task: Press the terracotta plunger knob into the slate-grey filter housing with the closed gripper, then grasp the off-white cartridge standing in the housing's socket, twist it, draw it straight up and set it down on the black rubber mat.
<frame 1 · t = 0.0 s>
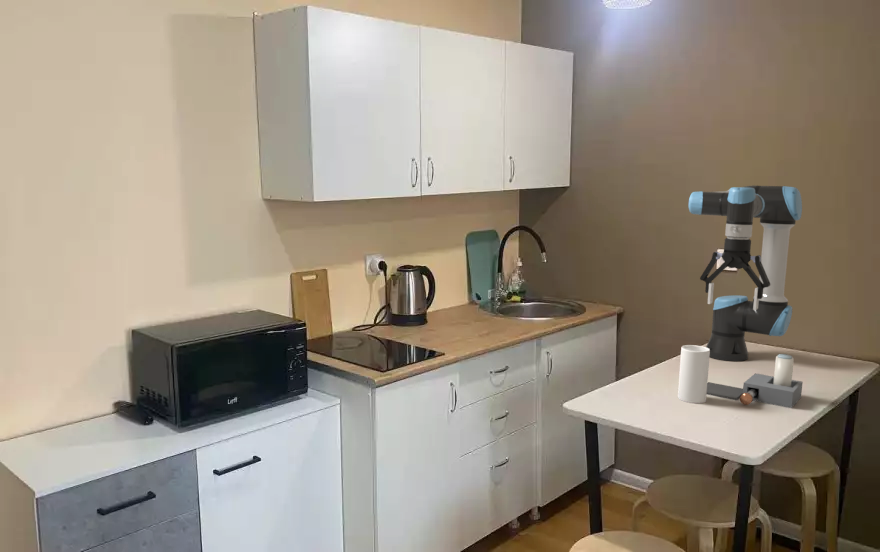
hand: (732, 306, 224), 28 cm above the table, fingers open, 13 cm apart
housing: (771, 397, 225), on the table
plunger: (750, 395, 219), point 2 cm above the table, slide at 0.0 cm
mat: (721, 391, 230), on the table
cup: (691, 399, 222), on the table
cartridge: (780, 398, 224), resting in housing
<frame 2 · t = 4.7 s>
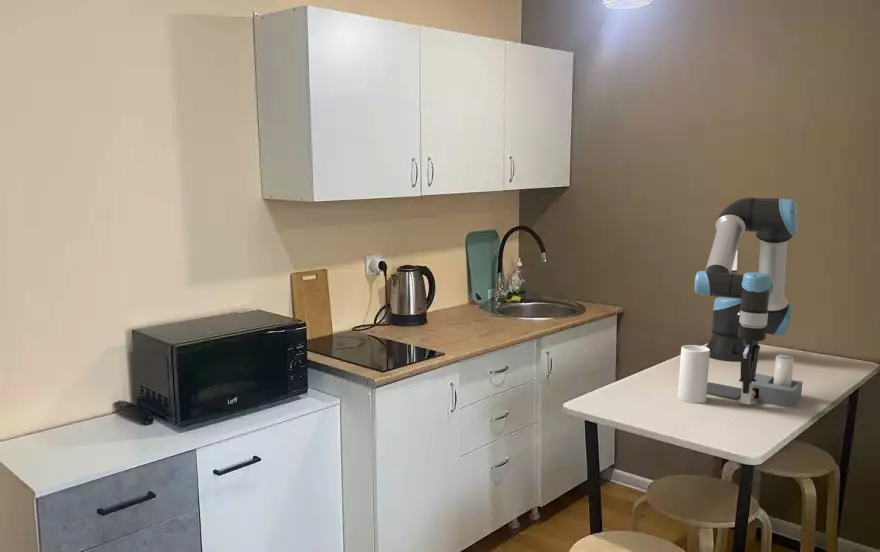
hand: (745, 402, 215), 1 cm above the table, fingers closed
plunger: (751, 394, 220), point 2 cm above the table, slide at 1.5 cm, touching gripper
everything else where it was.
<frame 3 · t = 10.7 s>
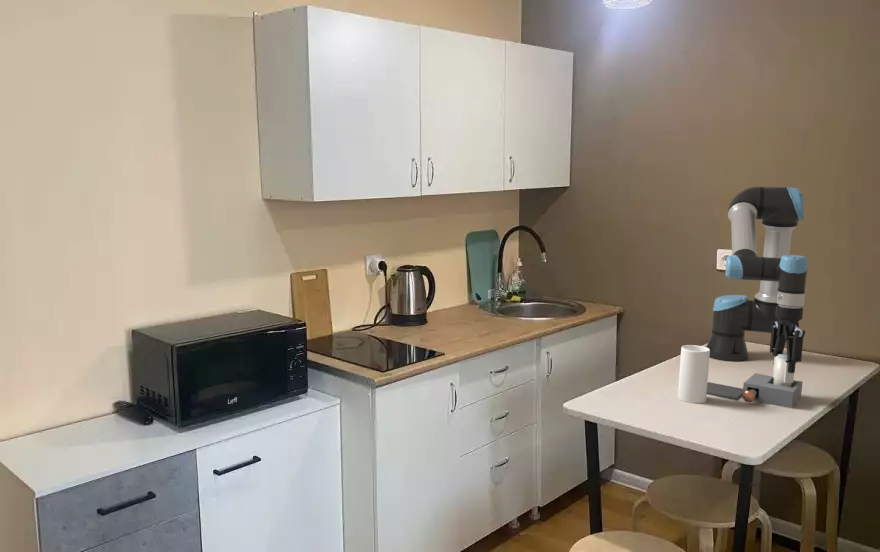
hand: (782, 379, 224), 6 cm above the table, fingers closed on cartridge, 5 cm apart
plunger: (752, 392, 221), point 2 cm above the table, slide at 3.2 cm
cartridge: (780, 398, 224), resting in housing, touching gripper
everything else where it was.
when the fingers open (7 cm above the table, at t = 18.3 s): cartridge stays where it is, resting on mat.
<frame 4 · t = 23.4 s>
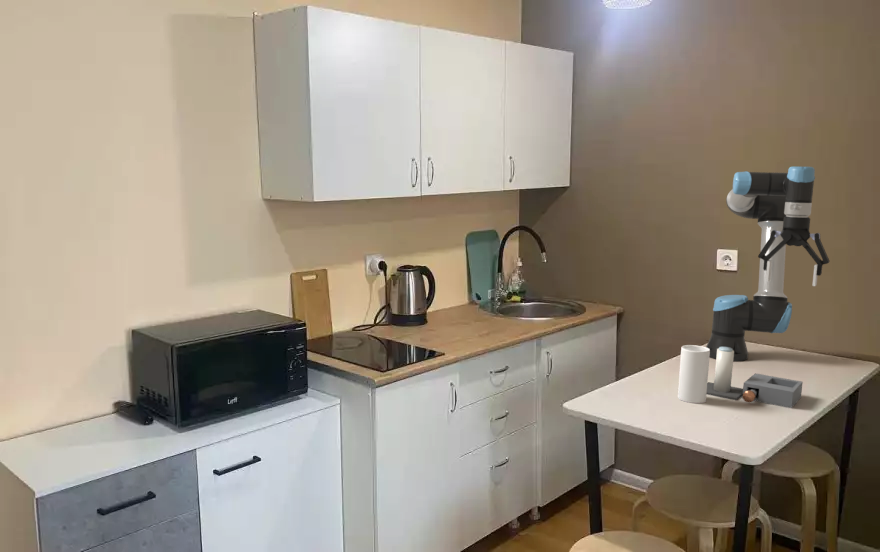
hand: (790, 283, 229), 35 cm above the table, fingers open, 13 cm apart
cartridge: (721, 389, 230), point 1 cm above the table, touching mat
everything else where it was.
at the end: cartridge inside the target area (0.0 cm from its centre), point 0.6 cm above the table; cartridge tilted 1°; plunger slide at 3.2 cm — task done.
